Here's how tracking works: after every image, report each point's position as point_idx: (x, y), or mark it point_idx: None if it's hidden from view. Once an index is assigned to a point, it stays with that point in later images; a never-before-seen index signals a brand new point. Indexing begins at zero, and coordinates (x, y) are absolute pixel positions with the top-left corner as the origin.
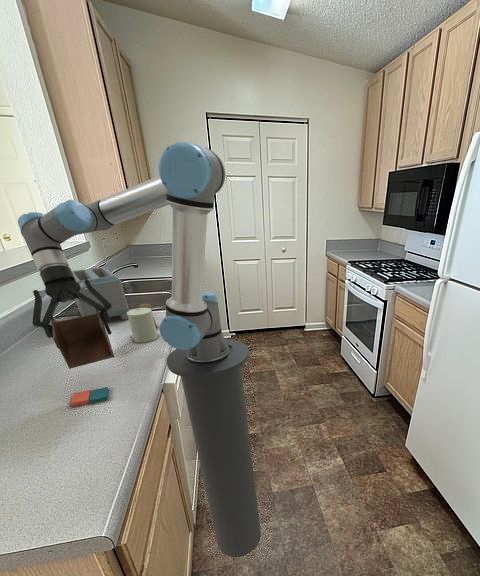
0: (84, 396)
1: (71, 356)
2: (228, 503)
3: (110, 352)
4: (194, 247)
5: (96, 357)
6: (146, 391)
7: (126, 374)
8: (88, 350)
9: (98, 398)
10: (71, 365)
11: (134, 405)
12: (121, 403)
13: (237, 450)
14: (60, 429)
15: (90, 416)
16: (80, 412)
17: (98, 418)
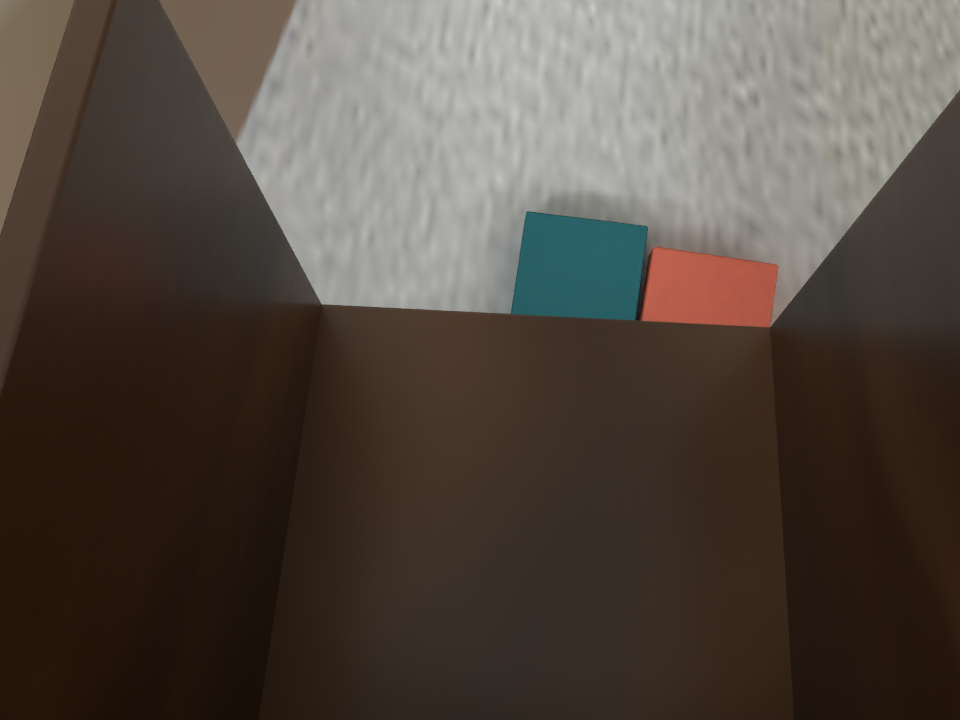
0: (677, 316)
1: (752, 517)
2: None
3: (316, 365)
4: None
5: (481, 350)
6: (265, 178)
7: None
8: (541, 541)
9: (584, 219)
10: (759, 337)
11: (380, 34)
12: (451, 113)
13: None
14: (845, 14)
15: (658, 63)
16: (717, 158)
17: (613, 7)
